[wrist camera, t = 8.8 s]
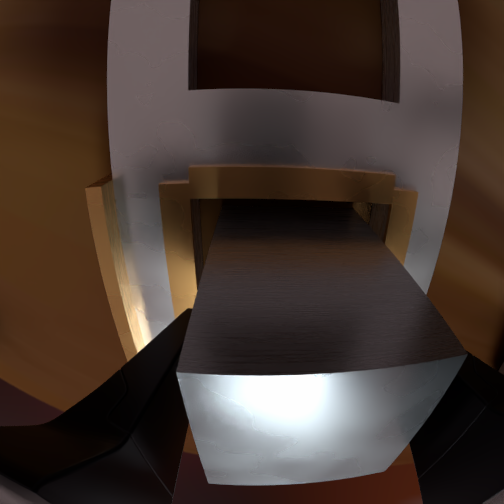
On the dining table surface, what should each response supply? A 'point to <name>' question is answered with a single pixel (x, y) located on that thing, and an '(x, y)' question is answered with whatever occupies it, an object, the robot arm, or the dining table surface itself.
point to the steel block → (308, 349)
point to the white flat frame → (264, 151)
